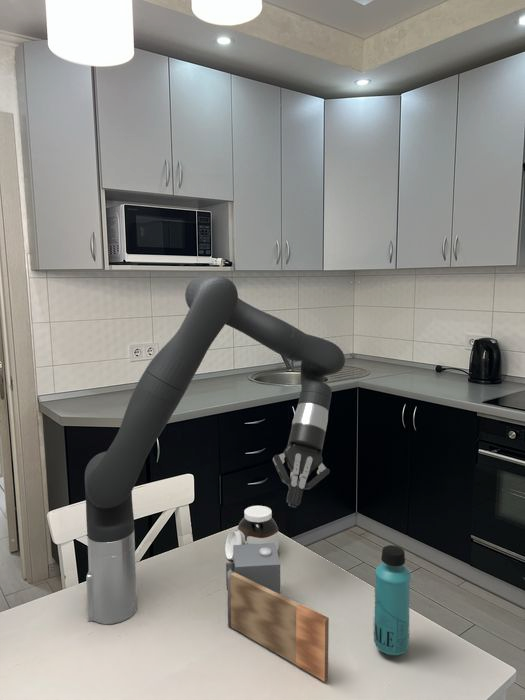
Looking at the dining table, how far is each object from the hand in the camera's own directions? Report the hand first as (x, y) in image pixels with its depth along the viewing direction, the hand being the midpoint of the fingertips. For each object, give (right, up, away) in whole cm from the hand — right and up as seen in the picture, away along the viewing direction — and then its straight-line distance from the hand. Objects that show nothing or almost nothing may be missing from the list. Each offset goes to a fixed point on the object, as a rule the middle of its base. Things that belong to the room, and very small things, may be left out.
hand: (292, 506), depth 108 cm
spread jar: (-9, -19, +22) cm, 31 cm away
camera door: (-4, -23, -12) cm, 26 cm away
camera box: (-8, -22, +1) cm, 23 cm away
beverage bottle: (+17, -23, -12) cm, 32 cm away
